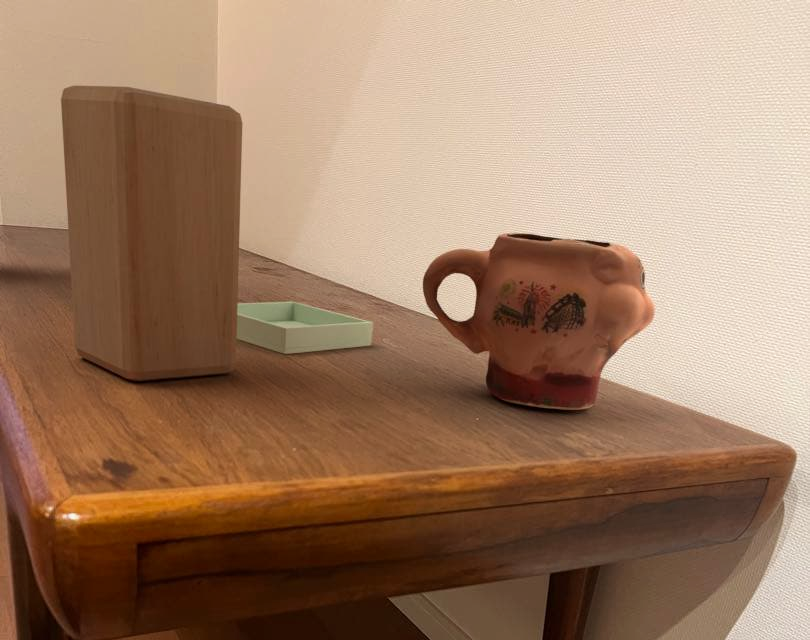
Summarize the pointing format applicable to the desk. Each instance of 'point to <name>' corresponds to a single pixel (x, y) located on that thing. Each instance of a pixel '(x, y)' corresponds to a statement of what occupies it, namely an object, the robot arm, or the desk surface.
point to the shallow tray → (299, 327)
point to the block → (153, 230)
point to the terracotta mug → (546, 313)
